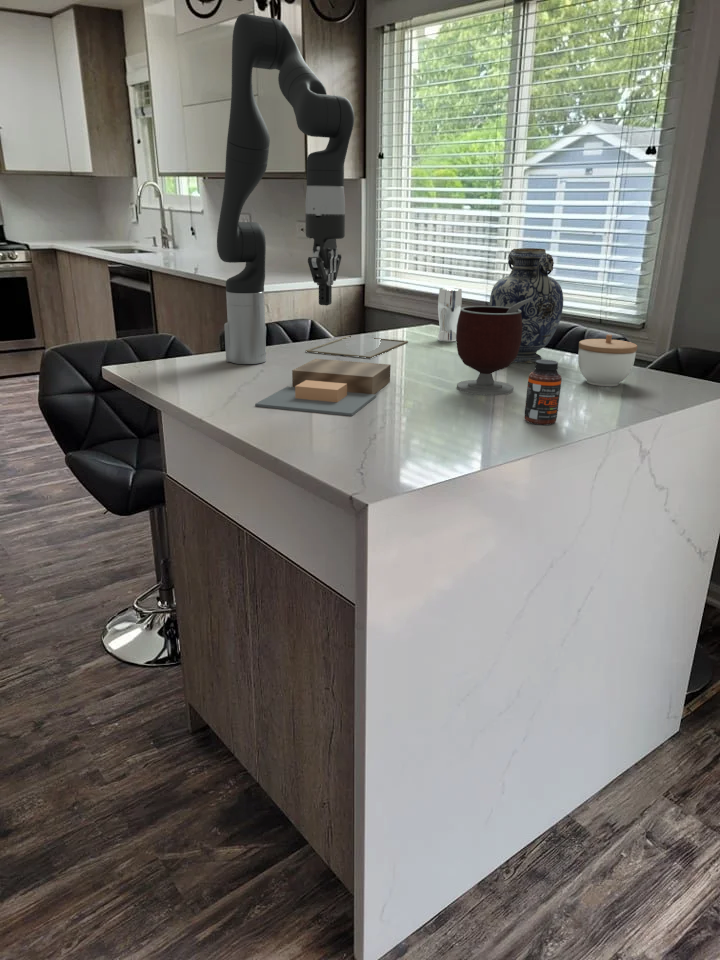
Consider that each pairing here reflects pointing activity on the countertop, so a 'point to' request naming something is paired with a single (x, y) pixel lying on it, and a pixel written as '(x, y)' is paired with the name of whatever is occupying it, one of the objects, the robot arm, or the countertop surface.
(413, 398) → the countertop surface
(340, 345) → the picture frame
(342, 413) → the slate mat
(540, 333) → the decorative vase
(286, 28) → the robot arm
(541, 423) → the supplement bottle
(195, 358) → the countertop surface
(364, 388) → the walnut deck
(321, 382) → the tan rectangular block
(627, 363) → the lidded bowl
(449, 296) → the beer glass
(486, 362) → the mate gourd
